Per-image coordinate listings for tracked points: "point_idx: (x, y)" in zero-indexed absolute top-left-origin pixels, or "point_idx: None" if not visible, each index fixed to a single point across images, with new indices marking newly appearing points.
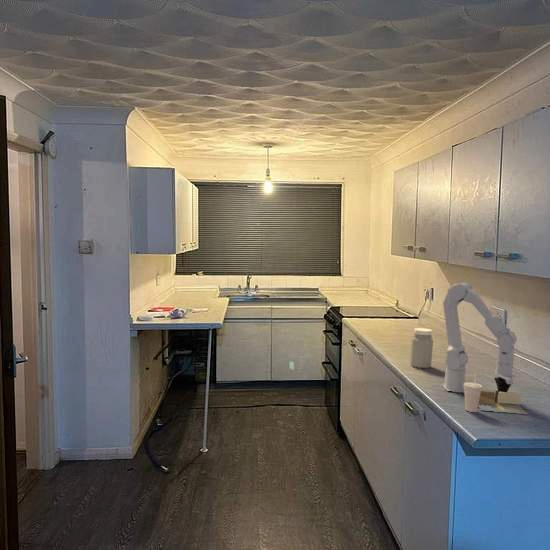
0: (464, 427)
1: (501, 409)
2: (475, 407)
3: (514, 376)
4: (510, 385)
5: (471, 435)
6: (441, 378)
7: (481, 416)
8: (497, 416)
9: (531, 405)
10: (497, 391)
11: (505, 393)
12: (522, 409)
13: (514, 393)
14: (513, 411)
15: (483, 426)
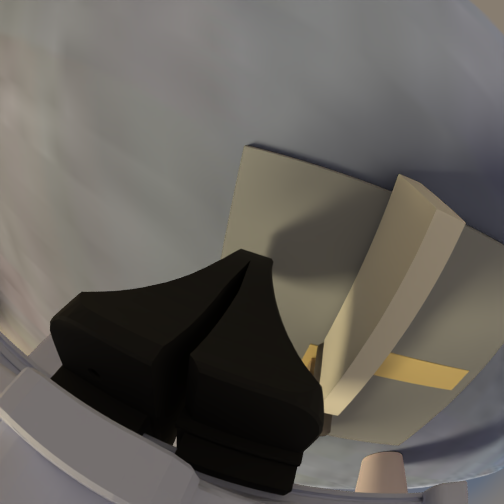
0: (458, 480)
1: (438, 381)
2: (405, 476)
3: (191, 491)
4: (304, 365)
5: (488, 474)
6: (14, 316)
7: (438, 451)
8: (471, 415)
9: (399, 46)
10: (329, 431)
11: (366, 379)
12: (495, 247)
13: (413, 303)
14: (489, 335)
15: (483, 457)
